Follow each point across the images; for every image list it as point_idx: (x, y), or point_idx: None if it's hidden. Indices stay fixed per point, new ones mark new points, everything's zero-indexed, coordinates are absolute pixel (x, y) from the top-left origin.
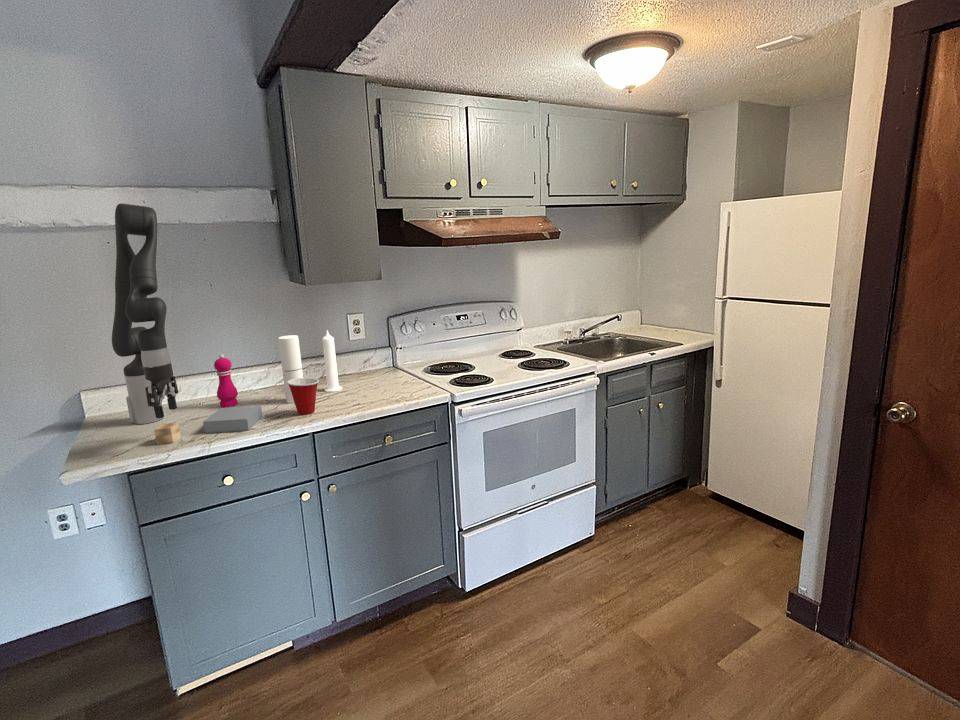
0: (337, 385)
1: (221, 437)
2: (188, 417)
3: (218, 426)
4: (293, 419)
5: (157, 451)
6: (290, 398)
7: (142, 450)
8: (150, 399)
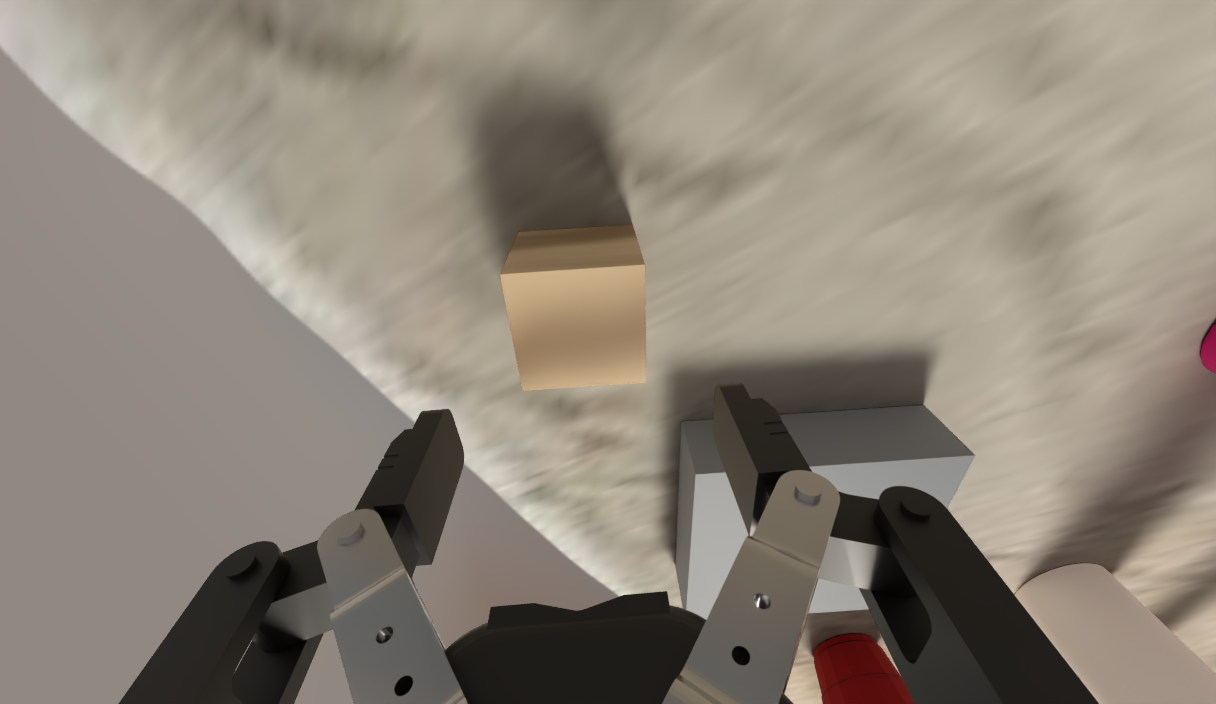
0: None
1: (602, 509)
2: (1130, 143)
3: (685, 503)
4: None
5: (397, 310)
6: (1042, 608)
7: (398, 195)
8: (228, 657)
